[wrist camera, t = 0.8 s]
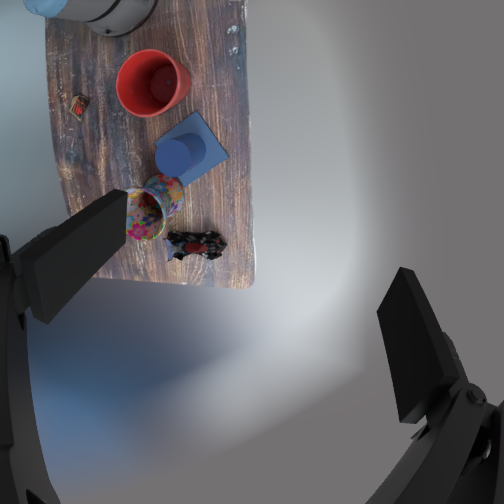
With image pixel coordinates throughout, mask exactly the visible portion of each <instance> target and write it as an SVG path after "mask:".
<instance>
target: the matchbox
mask: <svg viewBox="0 0 504 504" xmlns="http://www.w3.org/2000/svg"><path fill="white" fill-rule="evenodd" d="M72 104H73V105H72ZM72 104H71V105H72V108H71V109H70V112H71V113H72V114H74V115H75V117H77V118H78V120H79V121H81V119H82V116H83V115H84V113H85V111H87V110H86V109H87V107H88V104H89V101H88V99H86V98H85V97H84V96H81V95H78V97H77V96H74V98H73V99H72Z"/></svg>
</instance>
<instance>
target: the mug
mask: <svg viewBox="0 0 504 504" xmlns="http://www.w3.org/2000/svg"><path fill="white" fill-rule="evenodd" d="M125 192H128V201H127V219H126V233H127V234H128V235H129V236H131V237H132V238H134V239H137V240H141V241H149V240H152V239H155V238H156V237H158V236H159V235H160V234H161V233H162V231H163V229H164V227H165V223H166V218H168V217H172V216H174V215H176V214H177V213H178V212H179V211H180V210H181V208H182V206H183V202H184V194H183V190H182V188H181V186H180V184H179V183H178V182H177V181H176V180H175V179H174V178H172V177H169V176H166V175H164V174H159V175H155V176H152V177H151V178H149V179H148V180H147V182H146V183H145V185H144V187H131V188H128V189H126V190H125Z"/></svg>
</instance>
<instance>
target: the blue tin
mask: <svg viewBox="0 0 504 504" xmlns="http://www.w3.org/2000/svg"><path fill="white" fill-rule="evenodd" d="M205 155H206V146H205V143H204V141H203V140H202V138H201V137H199V136H198V135H196V134H193V133H186V134H183V135H180V136H177V137H174V138H172V139H169V140H166V141H164V142H163V143H161V144H160V145H159V147H158V148H157V150H156V153H155V162H156V165H157V167H158V169H159V170H160V171H161V172H162V173H163V174H164V175H166V176H169V177H179V176H182V175H183V174H185V173H186V172H188V171H189V170H190V169H192V168H193V167H195V166H196V165H198V164H199V163H201V162H202V160H203V159H204V157H205Z"/></svg>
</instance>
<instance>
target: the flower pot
mask: <svg viewBox="0 0 504 504" xmlns="http://www.w3.org/2000/svg"><path fill="white" fill-rule="evenodd" d="M190 86H191V78H190V75H189V73H188V71H187V70H186V69H185V68H184V67H183V66H182V65H181V64H180V63H179V62H177V61H176V60H175V59H174V58H172V57H171V56H170V55H168V54H167V53H165V52H163V51H160V50H157V49H144V50H141V51H138V52H136V53H134V54H132V55H131V56H130V57H128V58H127V59H126V60H125V62H124V63H123V64H122V66H121V68H120V70H119V72H118V75H117V79H116V92H117V96H118V99H119V101H120V103H121V105H122V106H123V107H124V108H125V109H126V110H127V111H128V112H130V113H131V114H133V115H136V116H139V117H152V116H156V115H158V114H160V113H163V112H164V111H166V110H168V109H170V108H171V107H173V106H175V105H176V104H177V103H179V102H180V101H182V100H183V99H184V98H185V97H186V95H187V94H188V92H189V90H190Z"/></svg>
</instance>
